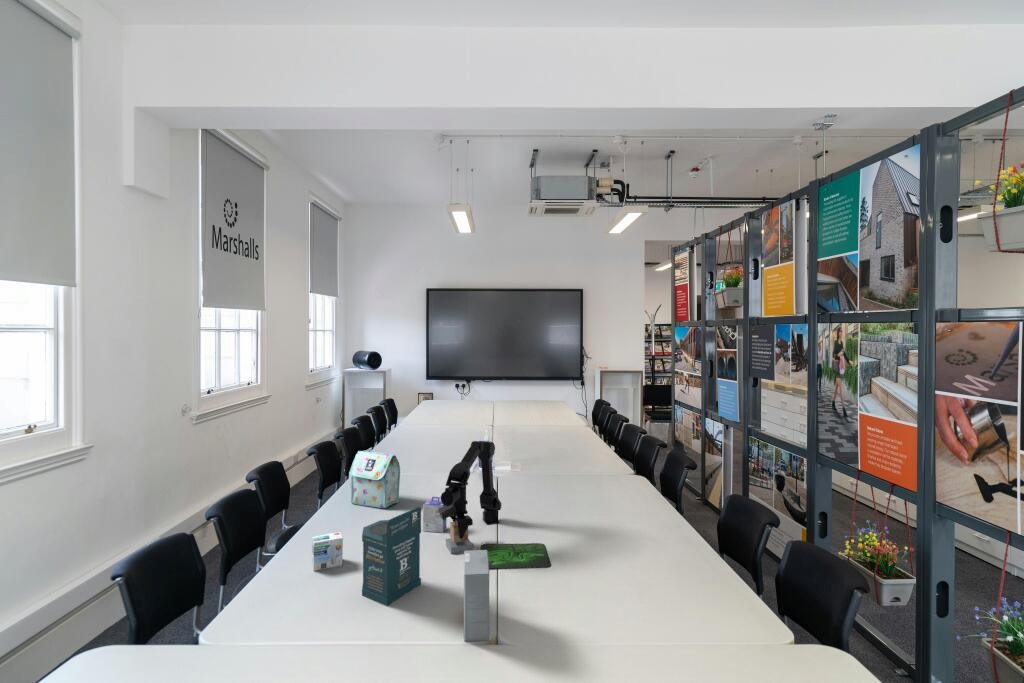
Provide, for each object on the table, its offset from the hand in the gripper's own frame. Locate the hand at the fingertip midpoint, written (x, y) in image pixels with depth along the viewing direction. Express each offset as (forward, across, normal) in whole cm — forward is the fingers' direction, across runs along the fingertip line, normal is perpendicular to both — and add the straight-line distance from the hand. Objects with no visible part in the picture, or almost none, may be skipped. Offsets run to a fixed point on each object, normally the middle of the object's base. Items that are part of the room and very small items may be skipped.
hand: (459, 535), depth 203 cm
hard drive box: (+5, +54, -10) cm, 55 cm away
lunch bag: (+6, -67, -26) cm, 72 cm away
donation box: (+5, +22, -32) cm, 39 cm away
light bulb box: (+5, -4, -51) cm, 51 cm away
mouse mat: (+6, +15, +19) cm, 25 cm away
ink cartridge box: (+6, -22, -5) cm, 23 cm away
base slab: (+6, 0, 0) cm, 6 cm away
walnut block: (+1, 0, 0) cm, 1 cm away
